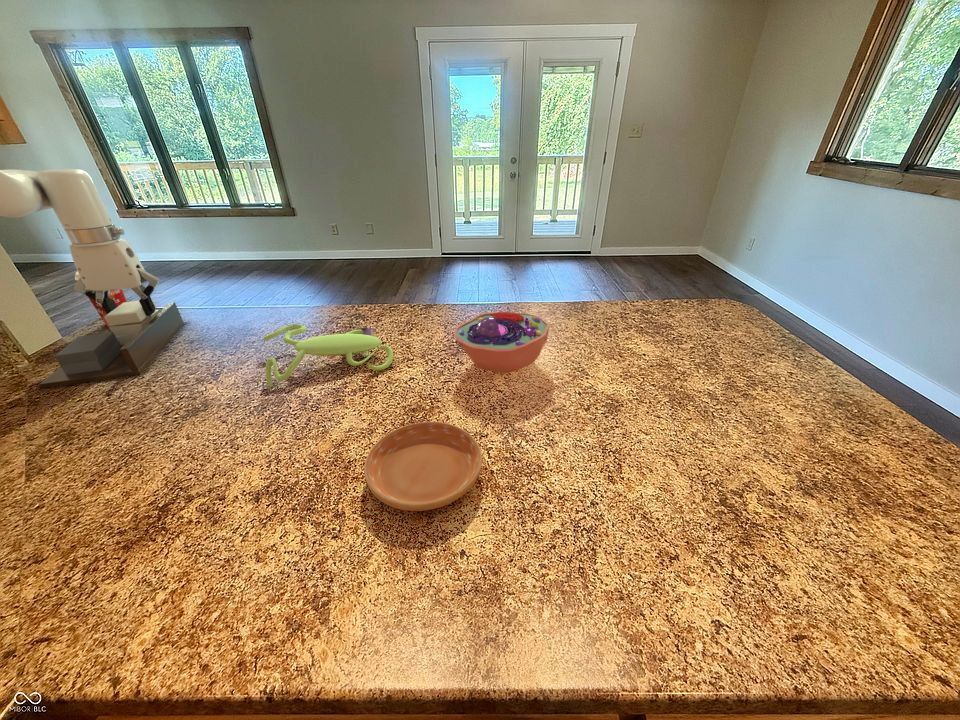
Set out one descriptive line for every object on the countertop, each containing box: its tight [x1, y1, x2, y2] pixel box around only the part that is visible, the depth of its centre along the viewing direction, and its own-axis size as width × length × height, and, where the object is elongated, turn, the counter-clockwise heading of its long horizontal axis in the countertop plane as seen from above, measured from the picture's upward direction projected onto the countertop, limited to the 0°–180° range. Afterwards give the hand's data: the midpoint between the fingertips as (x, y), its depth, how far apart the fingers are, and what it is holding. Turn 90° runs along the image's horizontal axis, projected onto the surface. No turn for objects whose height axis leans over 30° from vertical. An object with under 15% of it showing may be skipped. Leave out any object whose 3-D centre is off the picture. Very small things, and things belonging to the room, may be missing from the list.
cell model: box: [453, 311, 550, 374], centre depth 77 cm, size 17×20×11 cm
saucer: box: [363, 421, 483, 512], centre depth 53 cm, size 16×16×3 cm
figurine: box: [262, 324, 394, 388], centre depth 81 cm, size 18×27×6 cm
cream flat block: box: [104, 298, 158, 326], centre depth 87 cm, size 6×9×2 cm, turn 18°
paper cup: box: [74, 270, 128, 328], centre depth 95 cm, size 8×8×14 cm
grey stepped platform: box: [38, 301, 185, 389], centre depth 84 cm, size 16×26×6 cm, turn 18°
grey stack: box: [54, 332, 122, 375], centre depth 78 cm, size 6×9×4 cm
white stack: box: [108, 309, 161, 345], centre depth 89 cm, size 6×9×4 cm
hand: (133, 314), depth 88 cm, fingers closed on cream flat block, 6 cm apart
